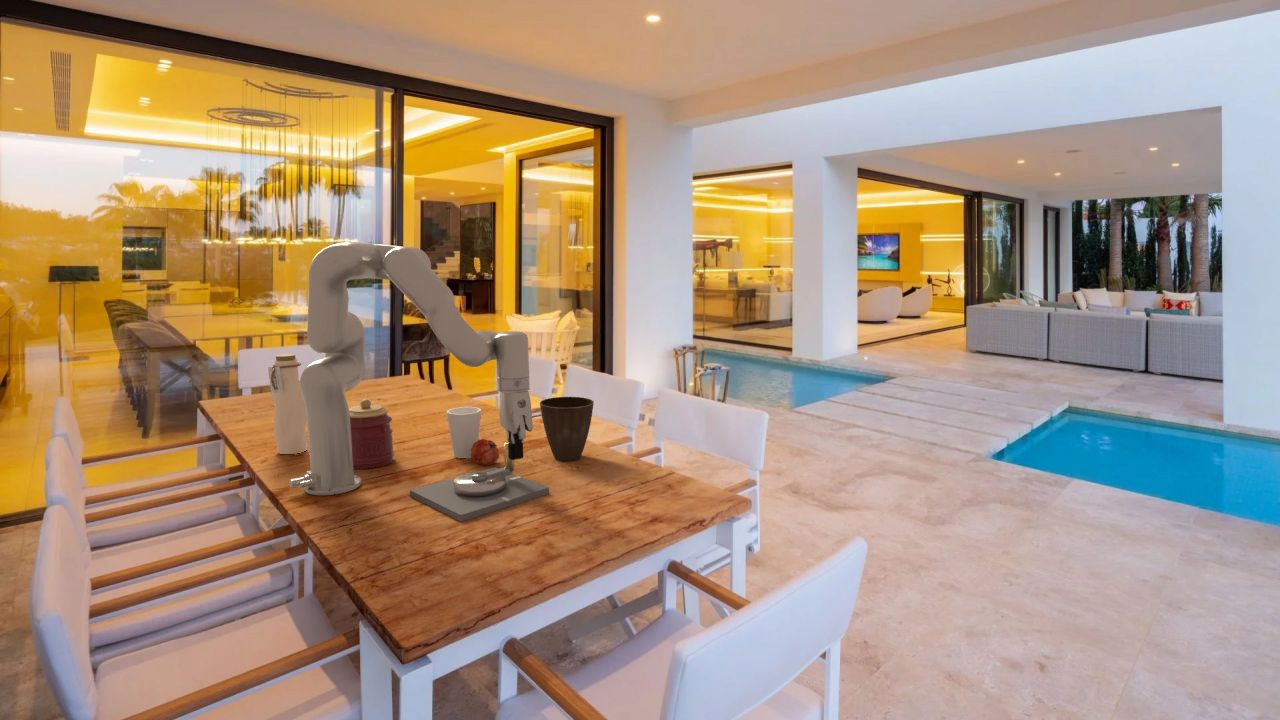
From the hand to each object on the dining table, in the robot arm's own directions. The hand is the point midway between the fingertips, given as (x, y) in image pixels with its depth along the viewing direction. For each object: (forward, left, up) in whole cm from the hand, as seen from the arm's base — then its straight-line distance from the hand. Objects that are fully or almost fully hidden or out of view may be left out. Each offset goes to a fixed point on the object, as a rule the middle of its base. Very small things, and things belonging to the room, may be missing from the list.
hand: (515, 458), depth 163 cm
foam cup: (+7, +33, -8) cm, 35 cm away
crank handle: (-6, +3, -6) cm, 9 cm away
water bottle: (-26, +71, -8) cm, 76 cm away
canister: (-15, +46, -8) cm, 49 cm away
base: (-8, +3, -8) cm, 12 cm away
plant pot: (+26, +11, -8) cm, 29 cm away
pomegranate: (+6, +22, -8) cm, 24 cm away
